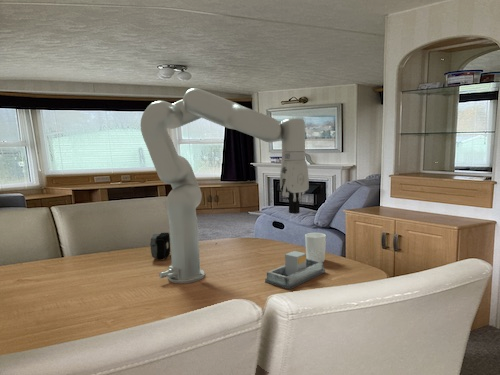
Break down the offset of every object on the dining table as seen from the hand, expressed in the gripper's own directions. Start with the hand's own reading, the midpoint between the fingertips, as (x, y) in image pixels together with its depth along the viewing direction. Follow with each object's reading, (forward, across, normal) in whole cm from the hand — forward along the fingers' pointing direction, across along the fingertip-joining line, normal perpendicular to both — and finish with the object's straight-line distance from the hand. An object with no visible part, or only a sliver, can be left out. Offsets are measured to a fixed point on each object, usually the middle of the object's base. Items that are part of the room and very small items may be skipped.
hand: (294, 212), depth 119 cm
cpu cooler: (+22, -17, +56) cm, 62 cm away
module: (+21, 0, 0) cm, 21 cm away
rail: (+22, 0, 0) cm, 22 cm away
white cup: (+22, +19, +5) cm, 30 cm away
